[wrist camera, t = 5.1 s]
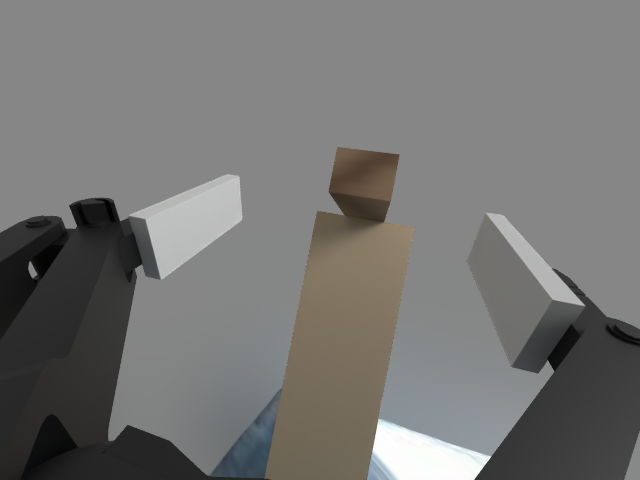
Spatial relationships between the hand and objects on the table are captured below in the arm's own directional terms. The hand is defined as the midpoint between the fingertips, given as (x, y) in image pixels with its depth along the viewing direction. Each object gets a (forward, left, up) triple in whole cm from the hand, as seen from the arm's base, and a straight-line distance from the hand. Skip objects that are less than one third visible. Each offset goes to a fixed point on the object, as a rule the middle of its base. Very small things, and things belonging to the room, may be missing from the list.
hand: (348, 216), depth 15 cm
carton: (0, -19, -34) cm, 39 cm away
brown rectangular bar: (0, -16, +2) cm, 16 cm away
